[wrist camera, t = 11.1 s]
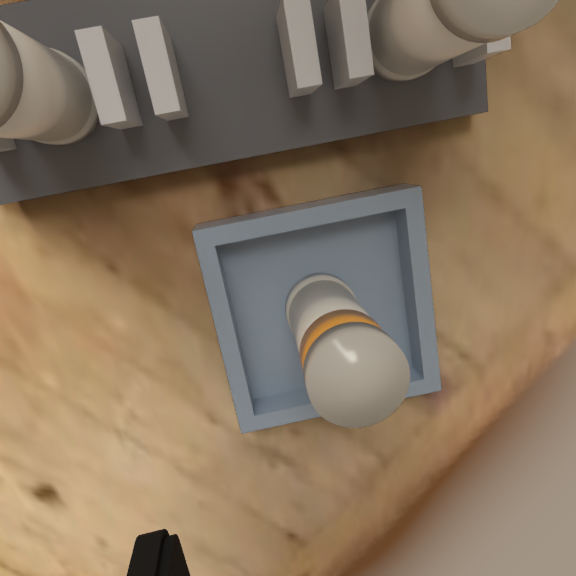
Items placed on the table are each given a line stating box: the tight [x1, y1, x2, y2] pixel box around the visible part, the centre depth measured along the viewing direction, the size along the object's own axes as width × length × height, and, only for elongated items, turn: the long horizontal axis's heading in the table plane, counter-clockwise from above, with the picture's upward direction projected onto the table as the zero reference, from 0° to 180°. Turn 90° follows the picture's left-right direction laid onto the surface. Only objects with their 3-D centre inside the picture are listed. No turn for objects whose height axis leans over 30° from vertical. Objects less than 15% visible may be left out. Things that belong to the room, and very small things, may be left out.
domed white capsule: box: [0, 20, 99, 145], centre depth 14 cm, size 3×3×8 cm
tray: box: [192, 183, 441, 434], centre depth 22 cm, size 10×10×2 cm
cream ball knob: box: [367, 0, 559, 82], centre depth 15 cm, size 3×3×8 cm
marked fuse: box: [285, 273, 410, 428], centre depth 19 cm, size 3×3×8 cm
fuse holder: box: [0, 0, 511, 205], centre depth 18 cm, size 7×21×4 cm, turn 100°
